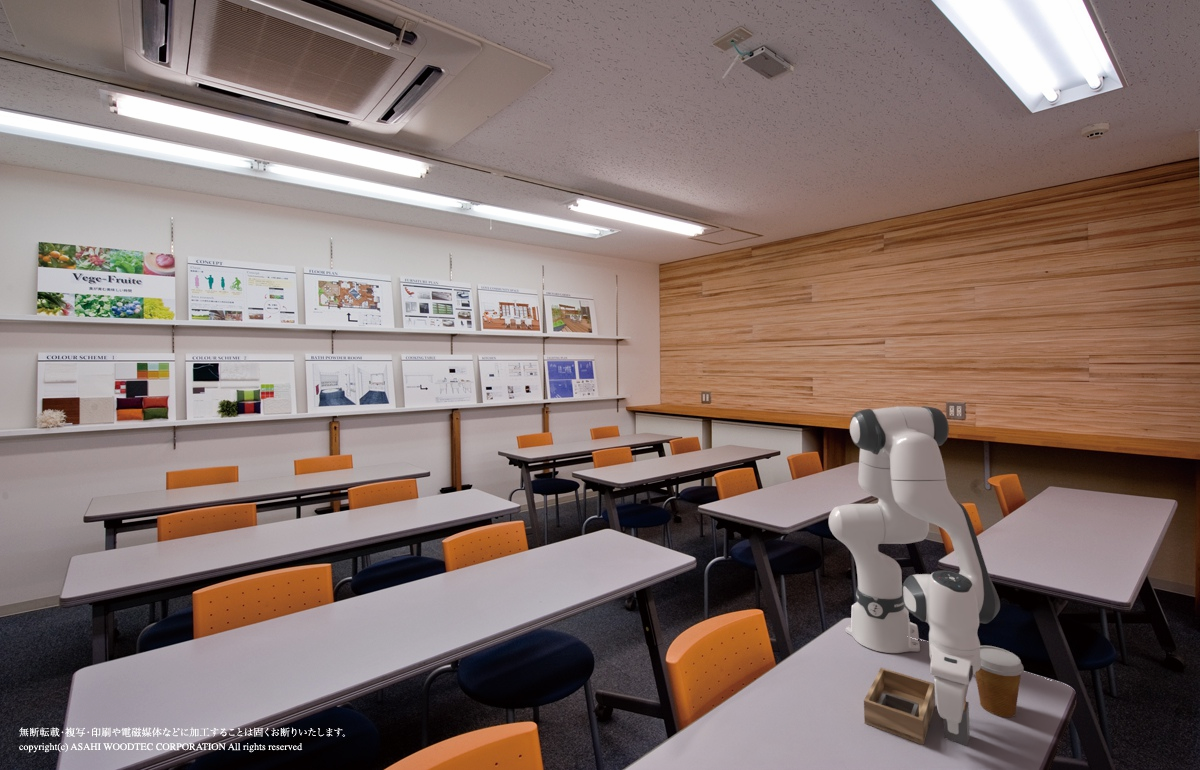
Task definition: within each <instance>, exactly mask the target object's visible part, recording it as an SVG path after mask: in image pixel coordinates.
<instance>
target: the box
mask: <svg viewBox="0 0 1200 770" xmlns="http://www.w3.org/2000/svg"><path fill="white" fill-rule="evenodd" d="M935 707H936V693H935V684H934V682H930V681H926V680H924V679H920V678H918V677H914V676H910V675H907V674H904V673H900V672H897V671H894V670H890V669H887V668H884V667H880V669H879V670H878V673H877V674H876V676H875V678H874V680H873V682H872V684H871V686H870V688H869V690H868V692H867V694H866V695H865V698H864V699H863V709H864V710H863V713H864V714H863V715H864V717H863V718H864V724H865V725H868V726H871V727H873V728H876V729H880V730H882V731H884V732H887V733H889V734H892V735H895V736H898V737H900V738H903V739H905V740H909V741H912V742H914V743H916V744H919V745H923V746H924V743H925V742H926V741H925V740H926V736H927V734H928V730H929V728H930V723H931V720H932V717H933V714H934V710H935Z"/></svg>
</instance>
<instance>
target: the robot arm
mask: <svg viewBox="0 0 1200 770" xmlns="http://www.w3.org/2000/svg"><path fill="white" fill-rule="evenodd" d="M949 426H950V425H949V421H948V418H947V416H946V415H945V413H944V412H943V411H942V410H941V409H939V408H937V407H933V406H925V405H924V406H906V405H903V406H900V405H899V406H894V407H882V408H880V407H879V408H873V409H871V408H866V409H861V410H858V411H856V412H854V413H853V415H852V417H851V419H850V425H849V433H850V436H851V440H852V442H853V444H854V445H855V446H857V447H858V448H859V457H858V458H859V459H858V473H857V475H858V476H857V482H858V485H859V487H860V488H861V490H863V492H865V493H866V494H867V495H869V496H872V497H873V498H877V499H878V501H877V503H847V504H843V505H838V506H834V507H833V508H832V510H831V511H830V513H829V516H828V527H829V530H830V532H831V533H832V535H833V536H834V537H835V538H836V539H837V541H839V542H841V543H842V544H843V545H845V547H846V548H847V549H848V550H849V551H850V553H851V554H852V556H853V559H854V562H855V566H856V574H857V587H856V592H855V596H856V602H855V603H853V604H852V605H851V611H850V612H851V615H850V616H851V618H850V620H851V621H850V624H849V625H847V626H846V627H845V632H846V633H847V634H849V636H851V637H853V639H854V640H855V641H856V642H857V643H859V644H860V645H861V646H863V647H865V648H867V649H870V650H873V651H877V652H881V653H886V654H887V653H888V654H901V653H907V652H920V651H921V647H920V646H921V645H920V637H919V627H918V625H917V624H916V623H913V622H911V621H910V620H911V619H910V617H909V616H910V615H909V613H910V614H912V615H913V616H914V617H915V618H917V619H919V620H920V621H921V622H925V623H927V624H928V626H929V631H928V649H929V654H928V655H929V658H930V662H929V663H930V664H929V665H930V666H929V667H930V669H929V671H930V674H931V675H932V676H934V677H933V681H934V682H933V683H934V686H935V703H936V707H937V712H938V715H939V717H940V718H942V719H943V720H944V719H946V720H947V724H948V731H949V732H951V733H954V734H958V733H959V723H960V722H961V720H962V714H963V709H964V705H965V700H966V701H967V694H968V690H969V685H970V683H971V680H972V678H973V677H974V676H975V673H976V672H977V671H979V670H980V668H981V661H980V646H981V642H980V639H979V636H978V629H979V627H980V624H989V623H990V622H992V620H994V618H995V617H996V616H997V615H998V614H999V611H1000V609H1001V602H1000V597H999V595H998V594H999V593H997V590H996V588H995V585H994V584H993V582H992V579H991V577H990V574H989V572H988V569H987V565H986V563H985V560H984V556H983V554H982V553H983V552H982V549H981V546H980V543H979V541H978V537H977V534H976V531H975V528H974V525H973V522H972V520H971V517H970V515H969V512H968V510H967V509H966V508H965V506H964V505H963V504H961V503H960V502H959V501H956V499H955V498H954V497H953V495H952V494H951V491H950V489H949V487H948V483H947V477H946V469H945V464H944V461H943V458H942V453H941V450H940V448H939V446H942V445H943V444H944V443H945V442H946V441H947V439H948V437H949V434H950V427H949ZM930 524H932V525H935V526H937V527H939V528H941V529H942V530H944V531H945V532H946V534H947V535H948V536H949V538H950V541H951V544H952V548H953V550H954V554H955V557H956V560H957V563H958V567H959V572H955V571H951V570H937V571H933V572H931V574H930V573H922V574H921V573H920V574H919V573H916V574H910V575H909V576H907V577H906V578H905V580H904V582H903V583H902V577H903V576H902V569H901V568H902V567H901V566H900V564H899V563H898V562H897V560H895V559H894V558H892V557H891V556H888V555H887V554H885V553H882V552H880V551H879V545H880V544H881V545H882V544H887V545H888V544H889V545H891V544H892V545H893V544H894V545H899V544H900V545H902V544H903V545H905V544H912V543H913V544H914V543H918V542H922V541H924V540H925V539H926V538H927V536H928V533H929V531H930ZM907 636H908V637H907ZM910 637H912V638H916V639H919V641H918V640H915V639H912V638H910Z"/></svg>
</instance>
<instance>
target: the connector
mask: <svg viewBox="0 0 1200 770" xmlns="http://www.w3.org/2000/svg"><path fill="white" fill-rule="evenodd" d="M969 706H970V704H969V701H967V699H966V700H965V705H964V709H963V714H962V720H961V722H960V723H959V733H958V734H954V733H951V732H949V731H948V724H947V720H946V719H944V718H943V737H944V739H947V740H949V741H952V742H955V743H957V744H960V745H962V746H963V745H964V746H966V747H968V746H969V740H970V707H969Z"/></svg>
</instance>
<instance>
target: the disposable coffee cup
mask: <svg viewBox="0 0 1200 770" xmlns="http://www.w3.org/2000/svg"><path fill="white" fill-rule="evenodd" d="M980 661H981V668H980V670H979V671H977V672H976V673H975V674H974V676H975V678H976V679H975V681H976V686H977V692H978V698H979V702H980V703H979V704H980V706H981V708H983V709H984V710H986V711H987V712H988V713H990V714H993V715H995V716H998V717H1002V718H1003V717H1004V718H1012V717H1014V716H1016V714H1017V713H1016V711H1017V706H1018V705H1017V704H1018V697H1019V689H1020V682H1021V675H1022V673H1023V671H1024V665H1023V664H1022V661H1021V659H1020V657H1019V656H1018V655H1016V654H1015V653H1013V652H1012V651H1011V652H1010V650H1006V649H1004V648H1000V647H998V646H997V647H996V646H992V645H980Z"/></svg>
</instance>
